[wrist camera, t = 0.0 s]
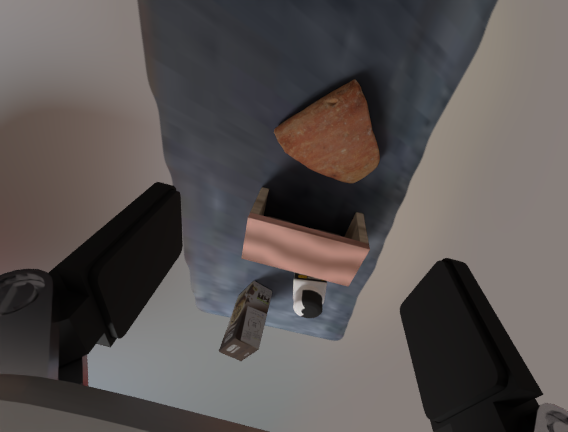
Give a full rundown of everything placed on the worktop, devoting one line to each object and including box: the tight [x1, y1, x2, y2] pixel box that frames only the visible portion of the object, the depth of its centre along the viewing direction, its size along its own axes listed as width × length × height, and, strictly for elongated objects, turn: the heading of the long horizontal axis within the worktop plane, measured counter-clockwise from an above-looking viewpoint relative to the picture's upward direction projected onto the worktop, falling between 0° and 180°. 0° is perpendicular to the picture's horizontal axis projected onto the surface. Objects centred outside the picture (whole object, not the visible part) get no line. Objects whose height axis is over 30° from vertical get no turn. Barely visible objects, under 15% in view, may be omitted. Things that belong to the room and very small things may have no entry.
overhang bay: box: [242, 187, 370, 286], centre depth 50 cm, size 10×21×10 cm, turn 78°
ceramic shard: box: [274, 80, 380, 183], centre depth 42 cm, size 15×6×15 cm
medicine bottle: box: [293, 273, 327, 318], centre depth 57 cm, size 7×7×12 cm
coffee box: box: [219, 281, 272, 361], centre depth 65 cm, size 9×6×16 cm
